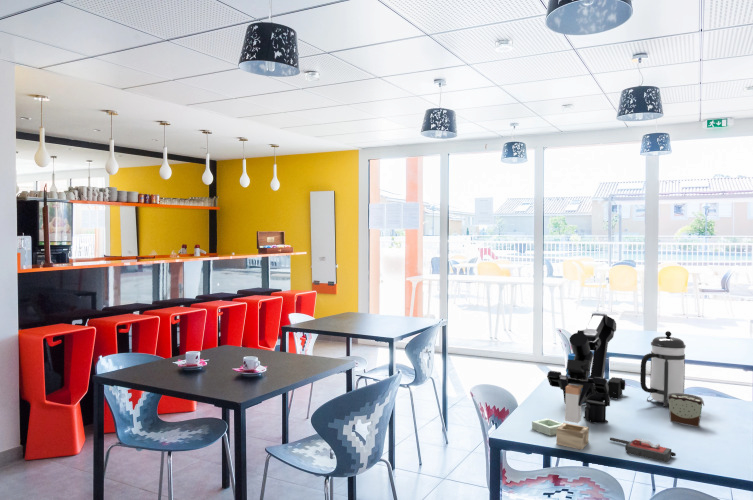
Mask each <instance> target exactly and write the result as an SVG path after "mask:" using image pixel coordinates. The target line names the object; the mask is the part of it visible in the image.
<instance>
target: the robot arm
mask: <svg viewBox="0 0 753 500" xmlns="http://www.w3.org/2000/svg"><path fill="white" fill-rule="evenodd" d="M616 331H617V323H616V321H615V319H614V318H612V317H609V316H608V314H606V313H603V312H602V313H601V312H600V313H599V312H594V313H592V314H591V317H590V320H589V322H588V324H587V326H586V328H585V329H581V330H577V332H575V333H573V334H572V335H570V337H569V338H568V339H569V344H570V347H571V351H572V353H574V354H575V357H574V360H570V359H569V360H568V359H567V362H566V364H567V365H566V368H567V370H568V375H570V376H569V377H567V376H566V374H565V375H564V374H562V372H561V371H555V370H550V371H549V370H548V372H547V375H546V377H547V380H548V383H549V385H550V386H551V387H554V388H555V387H556V388H560V390H562V393H563V402H564V403H565V395H566V386H568V385H569V384H574V385H581V386H583V388H582V393H581V396H580V399H579V403H578V405H579V406H581V407H582V406H583V405H582V404H583V403H586V404H585V407H584V416H583V419H584V420H586V421H588V422H590V423H591V424H596V423H597V424H599V423H601V424H602V423H609V420H607V417H606V415H607V413H606V412H607V407H611V399H610V398H609V394H608V391H609V386H608V379H607V378H606V377H605V370H606V361H607V353H608V347H609V346H608V345H609V342H610V341H611V340H612V339H613V338H614V335H615V332H616Z"/></svg>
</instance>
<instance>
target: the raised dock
mask: <svg viewBox="0 0 753 500" xmlns="http://www.w3.org/2000/svg"><path fill="white" fill-rule="evenodd" d="M589 428H590V427H588V426H583V425H577V424H575V423H574V424H572V423H569V422H568V423H567V422H563V424H562V425H561V426H559V427H558V428H557V434H556V443H555V444H556V445H559V446H562V447H563V446H565V447H568V448H572V449H578V450H584V448H585V447H586V446H587V445H588V444H589V434H590V433H589V432H590V429H589Z"/></svg>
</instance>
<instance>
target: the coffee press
mask: <svg viewBox="0 0 753 500" xmlns="http://www.w3.org/2000/svg"><path fill="white" fill-rule="evenodd" d="M664 334H665V336H657V337H654V338H653V339H652V340H651V342H650V345H651V350H650V352H649V353H646V354H644V356H643V357H642V359H641V362H640V388H641V389H642V391H644V392H646V393H649V396H648V397H647V399H646V400H647V401H646V402H649V401H650V402H652V401H653V400H654V401H657V402H660V403H663V408H668V407H669V400H668V399H667V396H668V394H670V393H683V394H685V374H686V373H685V372H686V371H685V369H686V362H685V361H686V354H685V350H686V347H687V346H686V344H685V342H684V340H682V339H680V338H677V337H671V336H672V333H671V331H669V330H667V331H665V333H664ZM649 359H650V383H649V386H650V388H648V387H647V385H646V383H647V382H646V381H647V380H646V377H647V375H646V374H647V362H648V360H649ZM650 397H651V399H649V398H650Z"/></svg>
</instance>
